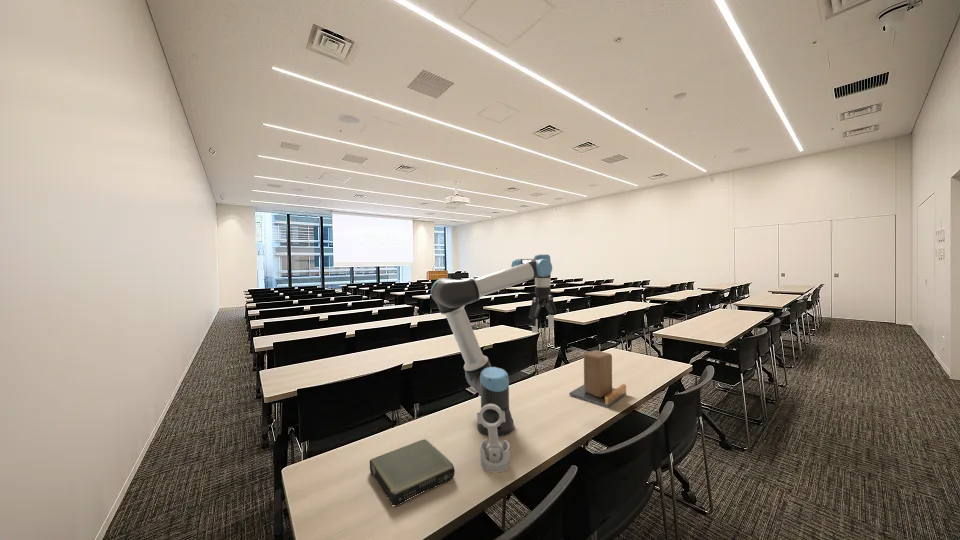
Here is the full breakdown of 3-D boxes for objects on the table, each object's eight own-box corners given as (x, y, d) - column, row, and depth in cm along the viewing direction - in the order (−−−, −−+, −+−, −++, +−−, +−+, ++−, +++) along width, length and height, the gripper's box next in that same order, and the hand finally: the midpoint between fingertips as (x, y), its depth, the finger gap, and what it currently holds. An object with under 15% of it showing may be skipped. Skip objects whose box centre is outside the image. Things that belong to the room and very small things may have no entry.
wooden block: (583, 392, 169) (582, 352, 168) (596, 387, 174) (595, 349, 173) (600, 398, 160) (599, 357, 159) (613, 393, 166) (612, 353, 165)
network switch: (422, 447, 126) (421, 434, 126) (462, 476, 109) (462, 461, 109) (362, 477, 110) (361, 462, 110) (398, 515, 93) (398, 498, 93)
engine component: (509, 473, 110) (509, 455, 120) (508, 411, 109) (508, 398, 119) (476, 472, 111) (479, 454, 121) (474, 411, 110) (478, 398, 120)
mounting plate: (569, 395, 168) (569, 385, 168) (588, 384, 182) (588, 375, 182) (608, 407, 154) (608, 397, 154) (626, 394, 168) (626, 384, 168)
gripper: (550, 284, 173) (551, 325, 174) (520, 288, 155) (521, 333, 156) (563, 285, 168) (563, 327, 168) (533, 288, 150) (534, 335, 151)
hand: (543, 330), depth 162 cm, fingers open, 13 cm apart
